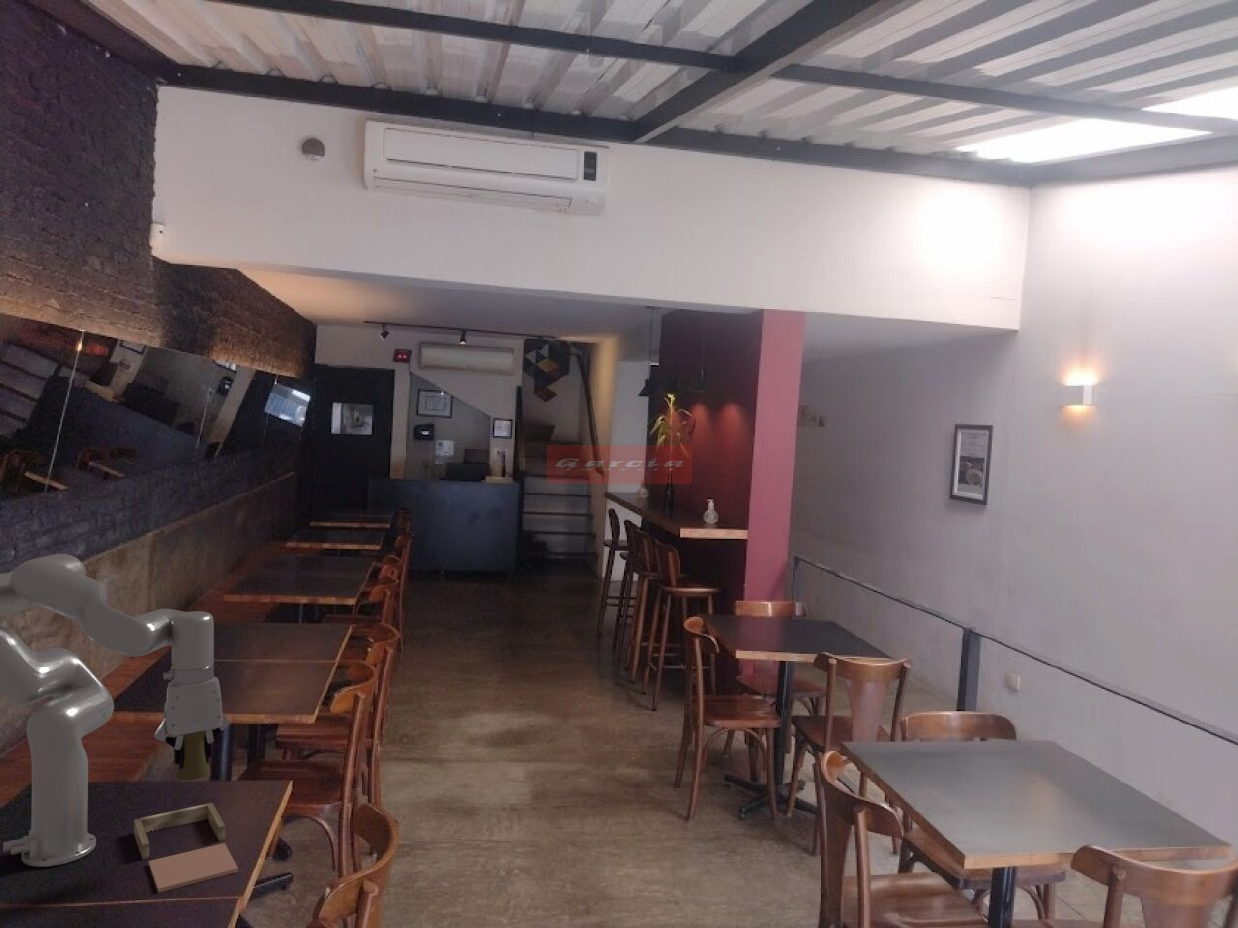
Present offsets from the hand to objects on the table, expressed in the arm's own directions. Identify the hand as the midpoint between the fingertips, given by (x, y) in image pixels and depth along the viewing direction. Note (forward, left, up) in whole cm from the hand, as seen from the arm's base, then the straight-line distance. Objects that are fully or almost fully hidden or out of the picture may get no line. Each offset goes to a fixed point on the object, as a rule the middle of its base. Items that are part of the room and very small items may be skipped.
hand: (192, 763), depth 170 cm
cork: (0, 0, -2) cm, 2 cm away
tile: (0, -4, -20) cm, 20 cm away
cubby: (0, +11, -20) cm, 22 cm away
